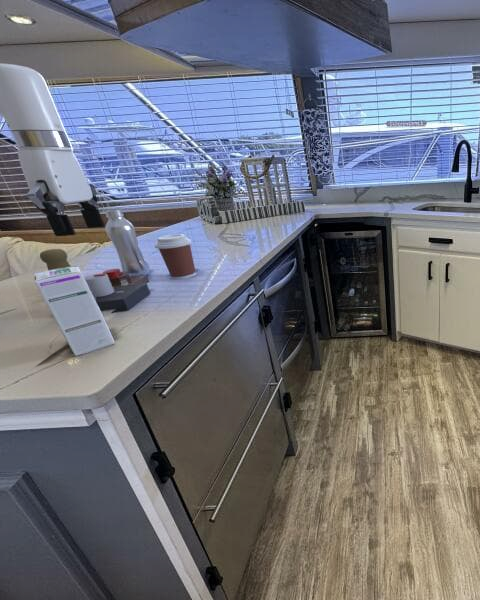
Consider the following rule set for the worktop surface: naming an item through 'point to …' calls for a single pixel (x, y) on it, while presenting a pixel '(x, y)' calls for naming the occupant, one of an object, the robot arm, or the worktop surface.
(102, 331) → the syrup box
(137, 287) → the panel
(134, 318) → the worktop surface
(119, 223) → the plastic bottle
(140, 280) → the ignition block
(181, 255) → the coffee cup
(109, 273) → the ignition button
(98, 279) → the stove knob
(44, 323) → the worktop surface
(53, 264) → the cork
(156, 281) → the worktop surface
